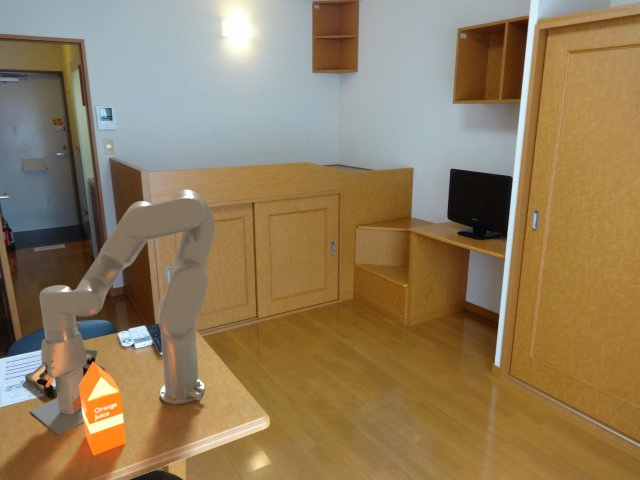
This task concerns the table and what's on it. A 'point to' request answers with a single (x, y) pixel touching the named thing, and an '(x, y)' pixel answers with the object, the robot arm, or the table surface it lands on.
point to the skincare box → (69, 391)
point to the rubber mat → (57, 417)
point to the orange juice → (101, 410)
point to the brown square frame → (41, 387)
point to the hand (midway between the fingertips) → (69, 389)
